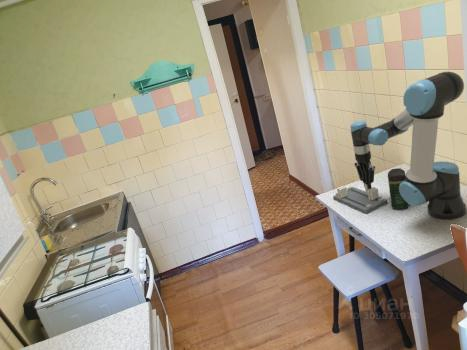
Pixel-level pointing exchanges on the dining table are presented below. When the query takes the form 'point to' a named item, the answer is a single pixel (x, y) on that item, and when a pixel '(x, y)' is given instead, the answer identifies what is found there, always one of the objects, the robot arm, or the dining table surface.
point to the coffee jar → (396, 188)
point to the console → (360, 200)
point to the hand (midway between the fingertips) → (368, 194)
